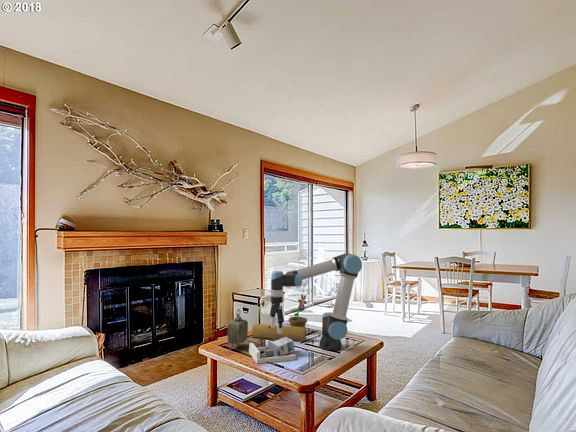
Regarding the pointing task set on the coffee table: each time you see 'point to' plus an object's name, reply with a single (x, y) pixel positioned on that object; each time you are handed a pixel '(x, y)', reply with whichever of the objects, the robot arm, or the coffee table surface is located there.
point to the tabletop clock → (237, 331)
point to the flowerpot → (298, 320)
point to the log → (272, 333)
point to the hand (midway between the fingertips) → (276, 330)
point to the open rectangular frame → (256, 356)
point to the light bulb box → (284, 346)
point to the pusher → (271, 350)
